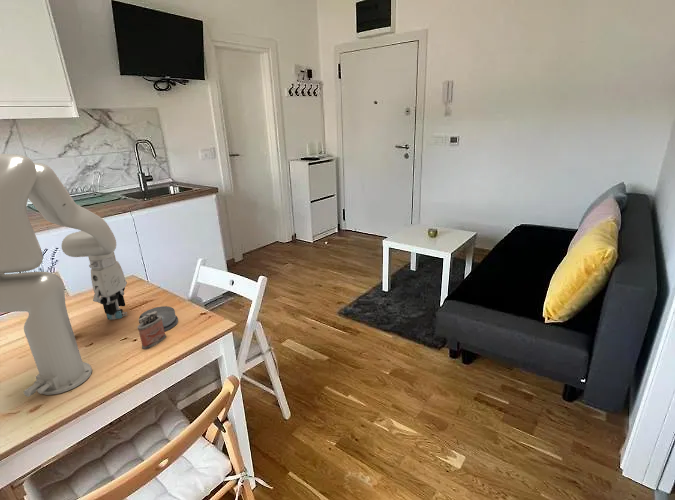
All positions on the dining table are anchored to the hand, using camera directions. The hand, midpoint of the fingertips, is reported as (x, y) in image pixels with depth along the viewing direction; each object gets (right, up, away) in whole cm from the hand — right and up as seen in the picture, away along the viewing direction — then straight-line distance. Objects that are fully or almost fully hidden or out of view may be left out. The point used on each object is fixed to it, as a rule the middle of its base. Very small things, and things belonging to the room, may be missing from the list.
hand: (115, 309), depth 135 cm
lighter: (+21, -8, -14) cm, 26 cm away
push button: (0, -3, +1) cm, 4 cm away
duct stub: (+17, -5, -4) cm, 18 cm away
